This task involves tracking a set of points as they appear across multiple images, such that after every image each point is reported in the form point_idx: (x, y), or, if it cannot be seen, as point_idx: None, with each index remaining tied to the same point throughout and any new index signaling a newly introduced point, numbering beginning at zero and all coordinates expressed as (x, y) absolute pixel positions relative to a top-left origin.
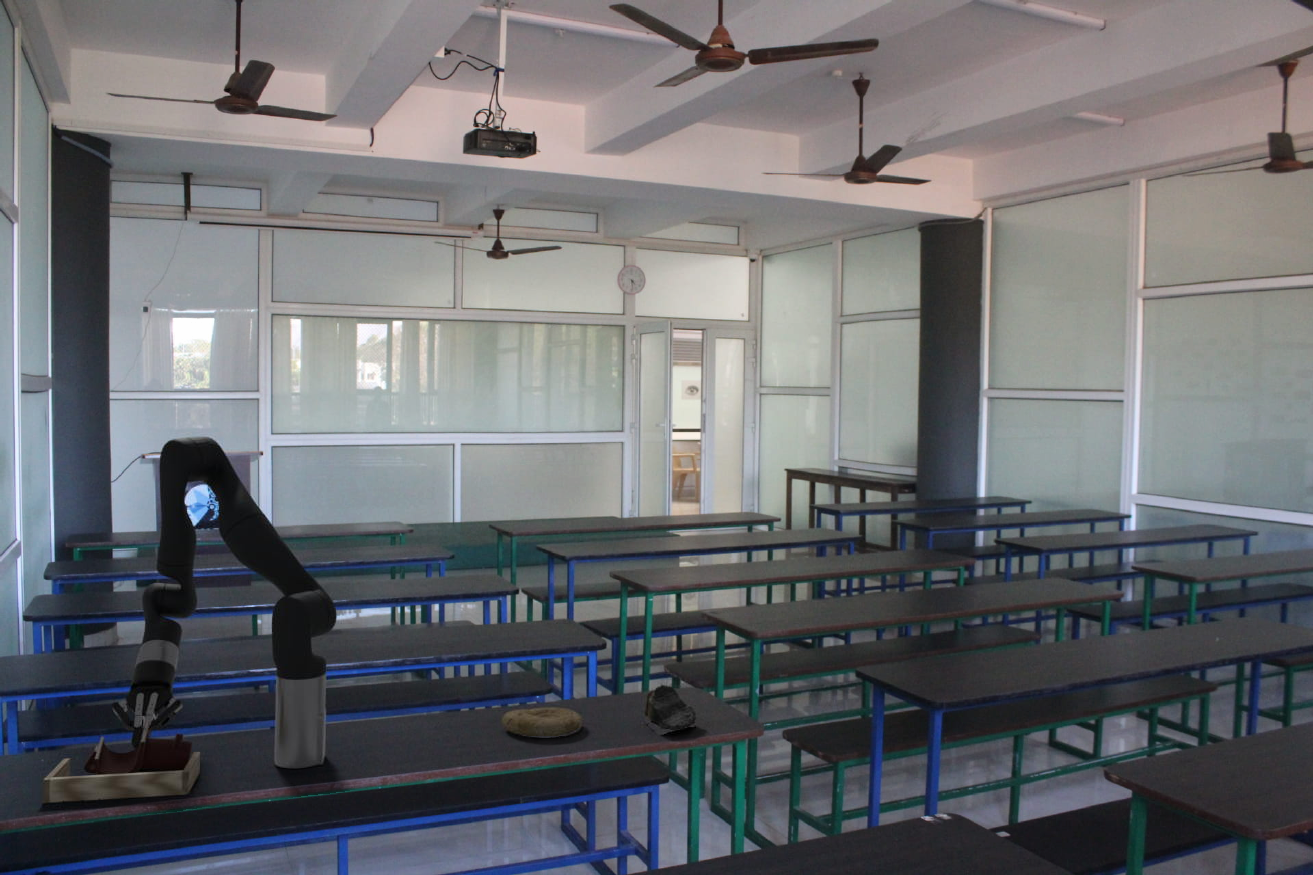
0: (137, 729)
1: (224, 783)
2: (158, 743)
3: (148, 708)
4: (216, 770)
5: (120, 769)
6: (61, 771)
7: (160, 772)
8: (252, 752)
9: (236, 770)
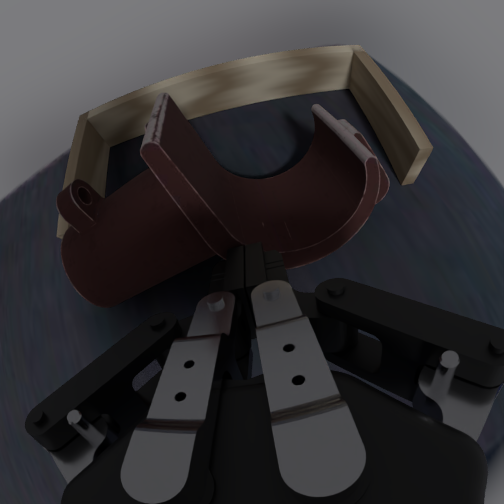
0: (265, 279)
1: (51, 202)
2: (137, 178)
3: (209, 363)
4: (65, 275)
5: (275, 192)
6: (382, 101)
7: (127, 98)
8: (32, 400)
9: (36, 276)
